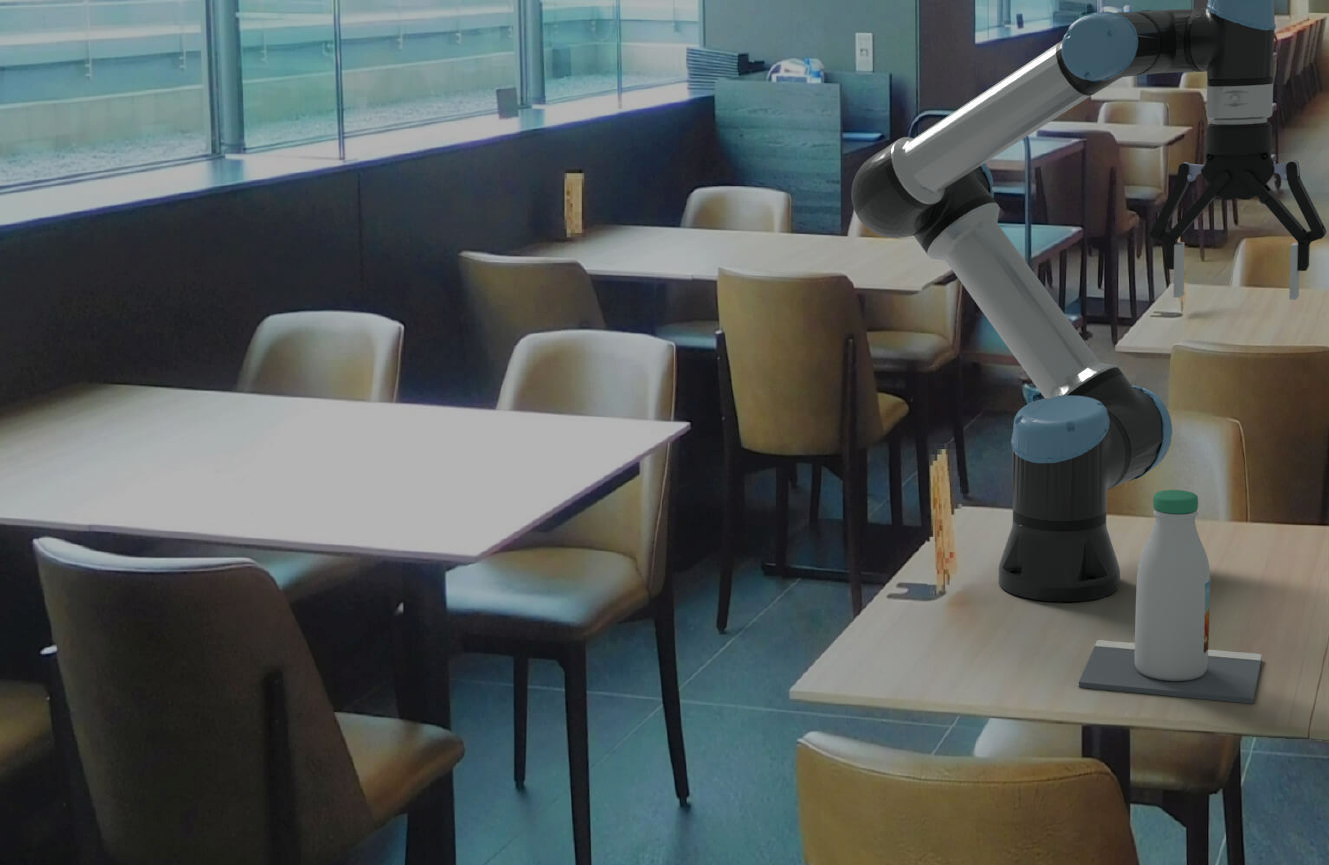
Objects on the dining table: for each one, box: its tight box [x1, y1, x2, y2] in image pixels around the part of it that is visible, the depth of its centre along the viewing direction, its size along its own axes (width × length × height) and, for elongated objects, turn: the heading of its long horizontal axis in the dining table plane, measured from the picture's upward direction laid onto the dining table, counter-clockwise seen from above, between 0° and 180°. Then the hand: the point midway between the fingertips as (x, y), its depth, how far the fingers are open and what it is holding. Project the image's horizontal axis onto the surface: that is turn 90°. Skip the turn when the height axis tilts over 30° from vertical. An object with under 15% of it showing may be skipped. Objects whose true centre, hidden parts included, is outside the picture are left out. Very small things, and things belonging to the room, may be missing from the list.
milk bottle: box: [1134, 489, 1211, 681], centre depth 193 cm, size 8×8×20 cm
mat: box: [1078, 639, 1263, 705], centre depth 196 cm, size 18×14×1 cm
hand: (1235, 297), depth 218 cm, fingers open, 13 cm apart
